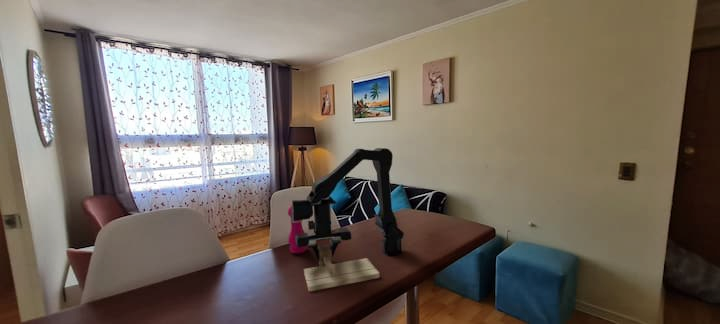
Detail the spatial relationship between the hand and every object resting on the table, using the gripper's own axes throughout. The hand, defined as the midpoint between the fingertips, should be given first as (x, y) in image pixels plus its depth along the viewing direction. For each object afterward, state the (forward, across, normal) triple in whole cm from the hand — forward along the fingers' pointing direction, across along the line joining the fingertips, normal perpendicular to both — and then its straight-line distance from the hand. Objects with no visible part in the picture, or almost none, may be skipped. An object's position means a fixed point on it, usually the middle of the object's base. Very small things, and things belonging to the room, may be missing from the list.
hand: (324, 260), depth 100 cm
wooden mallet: (+1, 0, +5) cm, 5 cm away
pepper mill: (+2, +8, -17) cm, 19 cm away
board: (+1, -3, +10) cm, 11 cm away
